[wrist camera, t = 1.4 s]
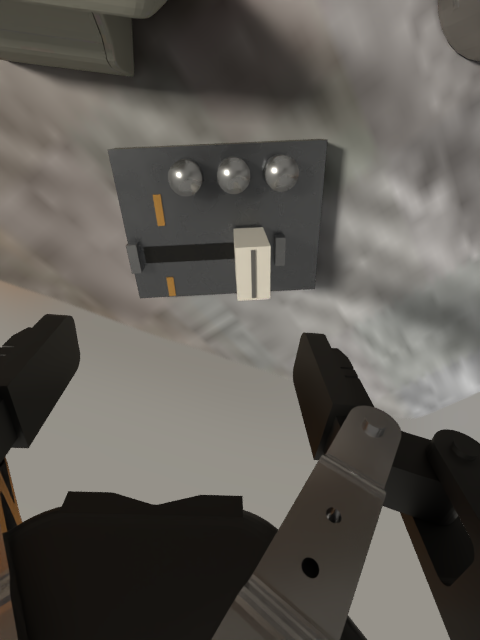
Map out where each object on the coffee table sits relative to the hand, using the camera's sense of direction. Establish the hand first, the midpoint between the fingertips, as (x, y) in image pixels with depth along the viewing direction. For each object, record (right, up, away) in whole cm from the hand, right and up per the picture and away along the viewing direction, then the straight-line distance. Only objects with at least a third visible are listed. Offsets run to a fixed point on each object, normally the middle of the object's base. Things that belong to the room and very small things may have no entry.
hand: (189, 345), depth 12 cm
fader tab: (+3, +7, +16) cm, 17 cm away
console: (0, +10, +17) cm, 19 cm away
